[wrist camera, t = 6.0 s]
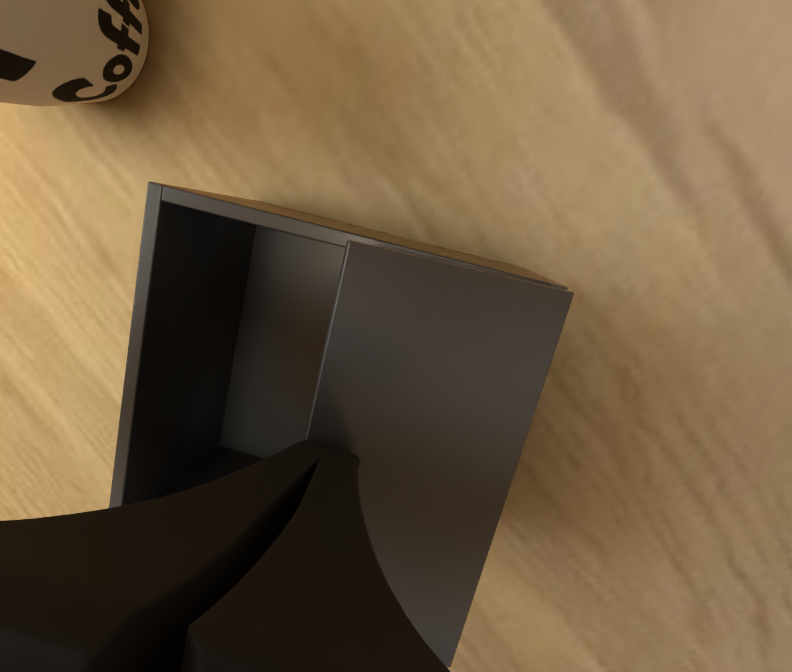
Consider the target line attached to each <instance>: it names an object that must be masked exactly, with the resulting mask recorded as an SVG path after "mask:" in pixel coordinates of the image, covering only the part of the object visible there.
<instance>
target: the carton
mask: <svg viewBox="0 0 792 672" xmlns="http://www.w3.org/2000/svg"><path fill="white" fill-rule="evenodd" d="M347 240H353V241H357V242H361V243H365V244H370V245H374V246H378V247H383V248H387V249H391V250H396V251H400V252H404V253H408V254H413V255H417V256H421V257H426V258H430V259H434V260H438V261H443V262H447V263H451V264H456V265H460V266H464V267H468V268H473V269H477V270H481V271H486V272H490V273H494V274H498V275H503V276H507V277H511V278H516V279H520V280H524V281H529V282H533V283H537V284H541V285H546V286H550V287H554V288H559V289H563V290H568V289H567V287H565V286H563V285H561V284H558V283H556V282H554V281H551V280H549V279H547V278H545V277H542V276H540V275H538V274H535V273H533V272H531V271H529V270H526V269H524V268H520V267H516V266H512V265H508V264H504V263H500V262H496V261H492V260H488V259H485V258H481V257H477V256H473V255H469V254H465V253H461V252H457V251H453V250H449V249H445V248H441V247H437V246H433V245H429V244H425V243H421V242H417V241H413V240H409V239H405V238H401V237H397V236H393V235H389V234H385V233H381V232H377V231H374V230H370V229H366V228H362V227H358V226H354V225H350V224H346V223H342V222H338V221H334V220H330V219H326V218H322V217H318V216H314V215H310V214H306V213H302V212H298V211H294V210H290V209H286V208H282V207H278V206H274V205H270V204H266V203H262V202H259V201H254V200H249V199H243V198H238V197H232V196H226V195H221V194H215V193H210V192H204V191H199V190H193V189H188V188H182V187H177V186H171V185H166V184H160V183H155V182H149V183H148V189H147V197H146V205H145V213H144V222H143V230H142V238H141V247H140V255H139V263H138V272H137V280H136V288H135V297H134V305H133V313H132V321H131V330H130V338H129V346H128V355H127V363H126V371H125V380H124V388H123V396H122V405H121V413H120V421H119V430H118V438H117V446H116V454H115V463H114V471H113V479H112V488H111V496H110V504H109V508H113V507H117V506H122V505H127V504H132V503H137V502H141V501H146V500H151V499H156V498H159V497H163V496H167V495H170V494H174V493H177V492H181V491H184V490H188V489H191V488H194V487H197V486H200V485H203V484H206V483H209V482H212V481H214V480H217V479H219V478H222V477H224V476H226V475H229V474H231V473H234V472H236V471H239V470H241V469H244V468H246V467H249V466H251V465H253V464H255V463H257V462H259V461H261V460H264V459H266V458H268V457H270V456H272V455H274V454H276V453H278V452H280V451H282V450H284V449H286V448H288V447H290V446H292V445H294V444H296V443H298V442H300V441H303V440H304V437H305V432H306V428H307V423H308V419H309V414H310V409H311V405H312V400H313V395H314V391H315V386H316V382H317V377H318V372H319V368H320V363H321V358H322V354H323V349H324V345H325V340H326V335H327V331H328V326H329V322H330V317H331V312H332V308H333V303H334V298H335V294H336V289H337V285H338V280H339V275H340V271H341V266H342V262H343V257H344V252H345V248H346V243H347Z"/></svg>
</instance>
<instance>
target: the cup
mask: <svg viewBox="0 0 792 672" xmlns="http://www.w3.org/2000/svg"><path fill="white" fill-rule="evenodd" d="M148 43H149V28H148V21H147V16H146V12H145V8H144V5H143V3H142V0H0V102H4V103H14V104H23V105H32V106H53V105H66V104H78V103H90V102H101V101H106V100H109V99H112V98H114V97H116V96H118V95H120V94H121V93H123V92H124V91H125V90H126V89H128V88H129V87H130V86H131V84H132V83H133V82H134V81H135V80H136V78H137V77H138V75H139V73H140V71H141V69H142V67H143V65H144V62H145V59H146V55H147V50H148Z"/></svg>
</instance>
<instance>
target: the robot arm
mask: <svg viewBox="0 0 792 672" xmlns="http://www.w3.org/2000/svg"><path fill="white" fill-rule="evenodd" d="M359 465H360V459H359V457H358V455H357V454H353V453H350V452H346V451H343V450H339V449H335V448H332V447H328V446H325V445H321V444H317V443H314V442H310V441H307V440H303V441H300V442H298V443H296V444H294V445H292V446H290V447H288V448H286V449H284V450H282V451H280V452H278V453H276V454H274V455H272V456H270V457H268V458H266V459H264V460H261V461H259V462H257V463H255V464H253V465H251V466H249V467H246V468H244V469H241V470H239V471H236V472H234V473H231V474H229V475H226V476H224V477H222V478H219V479H217V480H214V481H212V482H209V483H206V484H203V485H200V486H197V487H194V488H191V489H188V490H184V491H181V492H177V493H174V494H170V495H167V496H163V497H159V498H156V499H151V500H146V501H141V502H137V503H132V504H127V505H122V506H117V507H113V508H108V509H102V510H97V511H90V512H83V513H76V514H69V515H61V516H52V517H43V518H34V519H23V520H9V521H0V672H450V671H449V670H448V668H447V667H446V666H445V665H444V664H443V662H442V661H441V660H440V659H439V658H438V657H437V655H436V654H435V653H434V652H433V651H432V650H431V648H430V647H429V646H428V645H427V644H426V642H425V641H424V640H423V638H422V637H421V636H420V634H419V633H418V631H417V630H416V629H415V627H414V626H413V624H412V623H411V621H410V620H409V619H408V617H407V616H406V614H405V612H404V610H403V609H402V607H401V605H400V603H399V602H398V600H397V598H396V596H395V595H394V593H393V591H392V590H391V588H390V586H389V584H388V582H387V580H386V577H385V575H384V573H383V571H382V569H381V567H380V564H379V562H378V559H377V557H376V554H375V552H374V549H373V546H372V543H371V540H370V537H369V534H368V531H367V527H366V523H365V520H364V515H363V511H362V506H361V500H360V494H359V486H358V469H359Z"/></svg>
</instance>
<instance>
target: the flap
mask: <svg viewBox="0 0 792 672" xmlns="http://www.w3.org/2000/svg"><path fill="white" fill-rule="evenodd" d="M573 295H574V293H573V292H570V291H567V290H563V289H559V288H554V287H550V286H546V285H541V284H537V283H533V282H529V281H524V280H520V279H516V278H511V277H507V276H503V275H498V274H494V273H490V272H486V271H481V270H477V269H473V268H468V267H464V266H460V265H456V264H451V263H447V262H443V261H438V260H434V259H430V258H426V257H421V256H417V255H413V254H408V253H404V252H400V251H396V250H391V249H387V248H383V247H378V246H374V245H370V244H365V243H361V242H357V241H353V240H347V243H346V248H345V252H344V257H343V262H342V266H341V271H340V275H339V280H338V285H337V289H336V294H335V298H334V303H333V308H332V312H331V317H330V322H329V326H328V331H327V335H326V340H325V345H324V349H323V354H322V358H321V363H320V368H319V372H318V377H317V382H316V386H315V391H314V395H313V400H312V405H311V409H310V414H309V419H308V423H307V428H306V432H305V437H304V440H307V441H310V442H314V443H317V444H321V445H325V446H328V447H332V448H335V449H339V450H343V451H346V452H350V453H353V454H357V455H358V457H359V459H360V465H359V469H358V486H359V494H360V500H361V506H362V511H363V515H364V520H365V523H366V527H367V531H368V534H369V537H370V540H371V543H372V546H373V549H374V552H375V554H376V557H377V559H378V562H379V564H380V567H381V569H382V571H383V573H384V575H385V577H386V580H387V582H388V584H389V586H390V588H391V590H392V591H393V593H394V595H395V596H396V598H397V600H398V602H399V603H400V605H401V607H402V609H403V610H404V612H405V614H406V616H407V617H408V619H409V620H410V621H411V623H412V624H413V626H414V627H415V629H416V630H417V631H418V633H419V634H420V636H421V637H422V638H423V640H424V641H425V642H426V644H427V645H428V646H429V647H430V648H431V650H432V651H433V652H434V653H435V654H436V655H437V657H438V658H439V659H440V660H441V661H442V662H443V664H444V665H445V666H446V667H450V666H451V663H452V660H453V657H454V654H455V651H456V648H457V645H458V642H459V639H460V636H461V633H462V630H463V627H464V624H465V621H466V618H467V615H468V612H469V609H470V606H471V603H472V600H473V597H474V594H475V591H476V588H477V585H478V582H479V579H480V576H481V573H482V570H483V567H484V564H485V561H486V558H487V555H488V552H489V549H490V546H491V542H492V539H493V536H494V533H495V530H496V527H497V524H498V521H499V518H500V515H501V512H502V509H503V506H504V503H505V500H506V497H507V494H508V491H509V488H510V485H511V482H512V479H513V476H514V473H515V470H516V467H517V464H518V461H519V458H520V455H521V452H522V449H523V446H524V443H525V440H526V437H527V434H528V431H529V428H530V425H531V422H532V419H533V415H534V412H535V409H536V406H537V403H538V400H539V397H540V394H541V391H542V388H543V385H544V382H545V379H546V376H547V373H548V370H549V367H550V364H551V361H552V358H553V355H554V352H555V349H556V346H557V343H558V340H559V337H560V334H561V331H562V328H563V325H564V322H565V319H566V316H567V313H568V310H569V307H570V304H571V301H572V298H573Z"/></svg>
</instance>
